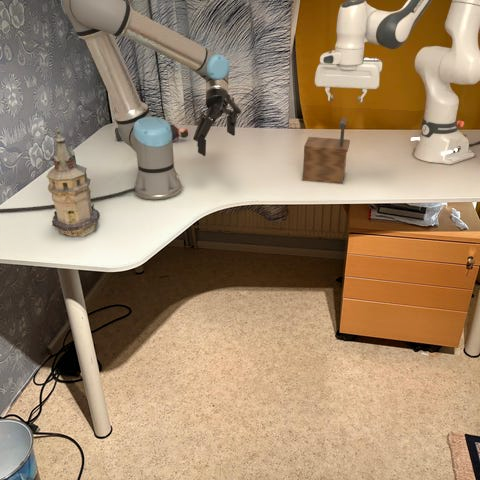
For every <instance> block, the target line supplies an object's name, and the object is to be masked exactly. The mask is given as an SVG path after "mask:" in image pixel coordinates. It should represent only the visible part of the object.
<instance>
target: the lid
mask: <svg viewBox="0 0 480 480" xmlns="http://www.w3.org/2000/svg"><path fill="white" fill-rule="evenodd" d="M347 119H348V118H347V117H342V118H341V119H340V123H339V128H340V137H339V138H334V137H333V138H332V137H319V136H308V137H307V139H306V142H305V144H304V146H303V147H304V148H303V150H304V149H313V150H326V151H339V152H347V153H348V152H349V147H350V144H351V139H346V138H345V129H346V127H347V122H348V120H347ZM344 138H345V139H344Z"/></svg>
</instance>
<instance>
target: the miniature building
mask: <svg viewBox="0 0 480 480" xmlns="http://www.w3.org/2000/svg"><path fill="white" fill-rule="evenodd" d="M56 134H57V136H56V138H55V140H54V141H55V142H56V147H55V154H54V156H52V157H51V161H52V162H53V165H54V167H53V168H51V169H50V170H49V171H48V173H47V174H46V178H47V179H48V182H49V184H48V186H47V190H48V191H49V193H50V194H51V200H52V201H53V205H55V208H54V209H55V211H53V217H52V220H51V223H52V225H51V227H54V228H56V229H58V230H59V231H60V234H63V235H64V234H65V235H66V236H69V237H77V236H80V237H83V236H87V235H88V234H90V233H93V232H94V231H95V229H96V226H97V225H98V223H99V220H100V216H101V213H100V212H99V210H98V209H96V208H95V204H92V202H91V198H92V197H91V192H92V191H91V188H90V184H91V178H89V177H88V174H87V167H85V166H84V165H83V166H82V165H80V164H77V160H76V154H75V151H74V150H70V149H69V147H68V145H67V143H66V138H65V137H64V136H63V135H61V130H60V129H56Z"/></svg>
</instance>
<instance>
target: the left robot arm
mask: <svg viewBox="0 0 480 480" xmlns="http://www.w3.org/2000/svg"><path fill="white" fill-rule="evenodd" d="M60 4H61V5H60V6H61V9H62V11H63V13H64V14H65V16H66V17H67V18H68V19H69V20H70V22H71V25H72V27H73V29H74V31H75V33H76V36H77V37H78V38H79V39H82V40H84V41H85V43H86V45H87V48H88V50H89V52H90V55H91V58H92V59H93V61H94V64H95V65H96V68H97V71H98V74H99V75H100V77H101V80H102V82H103V84H104V86H105V88H106V91H107V93H108V95H109V97H110V99H111V102H112V104H113V106H114V108H115V111H116V112H115V114H114V120H115V123H116V124H117V128H118V131H119V134H120V136H121V138H122V140H121V141H123V142H124V143H125V144H126V145H128V146H129V147H130V148H131V149H132V150H133V151H134V152H135V154H136V161H137V175H136V179H135V184H134V187H133V188H129V189H125V190H122V191H119V192H115V193H111V194H106V195H102V196H96V197H91V203H92V202H96V201H102V200H106V199H110V198H115V197H119V196H122V195H126V194H129V193H132V192H133V193H135V195H136V196H137V197H138V198H141V199H143V200H148V201H161V200H168V199H171V198H174V197H176V196H178V195H179V194H180V193H181V192H182V182H181V180H180V177H179V176H180V175H179V173H178V172H177V171H176V169H175V161H174V160H175V159H174V158H175V157H174V146H173V145H174V144H173V141H172V131H171V126H170V122H169V121H167V119H164V118H162V117H158V116H153V115H152V113H151V111H150V108H149V105H148V104H147V103H146V102H143V101H142V100H141V98H140V96H139V93H138V91H137V89H136V86H135V84H134V81H133V79H132V76H131V73H130V72H129V69H128V66H127V64H126V62H125V59H124V57H123V54H122V51H121V50H120V47H119V45H118V42H117V40H116V38H119V37H124V38H126V39H129V40H131V41H133V42H135V43H137V44H139V45H141V46H144V47H145V48H147V49H150V50H152V51H154V52H156V53H158V54H160V55H162V56H164V57H166V58H168V59H171V60H173V61H175V62H177V63H179V64H181V65H183V66H185V67H187V68H189V69H190V70H192V71H193V72H194V73H195V74H197V76H199V77H201V78H202V79H203V80H205V84H206V85H205V106H206V108H207V110H206V113H201V114H200V116H199V121H198V124H197V127H196V129H195V132H194V134H193V138H192V140H194V141H195V142H196V143H197V144H196V146H197V153H198V154H199V155H201V156H203V157H205V156H206V155H207V154H206V153H207V139H206V138H207V136H208V134H209V131H210V129H211V128H212V125H214V124H215V123H216V121H217V119H219V118H220V117H221V116H223V114H226V115H227V116H226V132H227V133H228V134H229V135H231V136H232V137H234V136H235V135H236V124H237V117H238V115H241V113H242V110H241V109H240V107H239V106H238V104H237V103H236V101H235V98H234V97H233V96H232V95H230V94H229V74H230V67H231V66H230V61H229V60H228V59H227V57H225V56H223V54H220V53H217V52H215V51H213V50H211V49H209V48H207V47H205V46H203V45H201V44H200V43H198V42H195V41H194V40H192V39H190V38H188V37H186V36H185V35H182V34H180V33H178V32H176V31H174V30H173V29H170V28H169V27H166V26H165V25H163V24H161V23H159V22H158V21H156V20H154V19H151V18H149V17H148V16H146V15H144V14H142V13H141V12H138V11H136V10H134V9H133V8H132V4H131V3H129V2H127V1H125V0H60ZM228 105H229V106H230V107H231V109H229V108H228ZM48 209H55V205H54V204H48V205H37V206H27V207H11V208H0V213H11V212H26V211H27V212H28V211H39V210H48Z"/></svg>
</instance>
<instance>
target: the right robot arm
mask: <svg viewBox="0 0 480 480" xmlns="http://www.w3.org/2000/svg"><path fill="white" fill-rule="evenodd" d="M432 1H433V0H407V1H406V2H405V4H404V5H403V6H402V8H400V9H398V10H395V11H387V10H381V9H377V8H375V7H373V6H371V5H370V4H368V3H367V1H366V0H345V1H343V2H342V3H341V4H340V7H339V9H338V14H337V17H336V18H337V19H336V27H335V29H336V31H335V32H336V42H335V45H334V49H333V50H329V51H325V52H324V53H322V54H321V55H320V57H319V63H318V66H317V67H316V71H315V75H314V85H315V87H317V88H318V87H320V88H325V89H324V90H325V92H326V95H327V98H328V99H327V101H328V102H333V101H334V94H332V93H331V91H330V90H331V88H340V89H341V88H342V89H362V91H361V92H362V94H361V95H358V97H357V103H361V104H363V101H364V97H365V96H366V94H367V92H368V90H377V89H378V88H379V87H380V81H381V80H380V78H381V76H380V75H381V72H382V70H383V64H384V63H383V61H382V60H381V59H379V57H366V56H365V55H364V54H365V43H369V44H373V45H377V46H381V47H384V48H386V49H389V50H397V49H399V48H400V47H402V46H403V45H404V44H405V43H406V42H407V40H408V39H409V38H410V36H411V33H412V31H413V29H414V27H415V26H416V24H417V22H418V21H419V20H420V18H421V17H422V16H423V14H424V12H425V11H426V10H427V8H428V7H429V6H430V5H431V3H432ZM444 29H445V31H446V32H447V34H448V35H449V36H450V37H451V40H452V42H451V47H446V46H439V45H433V46H432V45H430V46H424V47H422V48H421V49H420V50H419V51H418V52H417V54H416V56H415V58H414V69H415V72H416V73H417V74H418V75H419V77H420V78H421V81H422V83H423V86H424V90H425V106H424V107H425V108H424V113H423V114H424V115H423V117H422V120H421V125H420V133H419V136H417V137H411V138H410V141H417V145H416V146H415V150H414V152H413V156H414V157H415V158H416V159H418V160H420V161H424V162H428V163H434V164H435V163H436V164H442V165H443V164H444V165H453V164H456V163H459V162H462V161H465V160H468V159H472V158H474V157H475V153H474V152H473V151H472V150H471V149H470V147H473V146H477V145H479V144H480V140H478V141H477V142H475V143H470V141H469V138H468V137H467V134H464V133H462V132H461V131H459V127H460V128H463V127H464V126H465V121H464V120H463V121H462V120H461V119H460V120H457V115H458V110H459V104H460V99H459V96H458V95H457V94H456V92H455V91H453V89H452V87H451V84H455V85H462V86H463V85H465V86H467V85H475V84H477V83H478V82H480V45H479V33H480V0H451V3H450V7H449V10H448V13H447V16H446V19H445V22H444Z"/></svg>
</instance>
